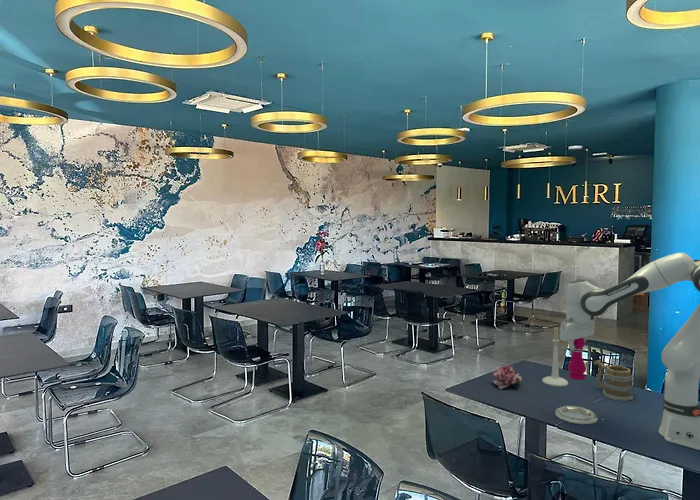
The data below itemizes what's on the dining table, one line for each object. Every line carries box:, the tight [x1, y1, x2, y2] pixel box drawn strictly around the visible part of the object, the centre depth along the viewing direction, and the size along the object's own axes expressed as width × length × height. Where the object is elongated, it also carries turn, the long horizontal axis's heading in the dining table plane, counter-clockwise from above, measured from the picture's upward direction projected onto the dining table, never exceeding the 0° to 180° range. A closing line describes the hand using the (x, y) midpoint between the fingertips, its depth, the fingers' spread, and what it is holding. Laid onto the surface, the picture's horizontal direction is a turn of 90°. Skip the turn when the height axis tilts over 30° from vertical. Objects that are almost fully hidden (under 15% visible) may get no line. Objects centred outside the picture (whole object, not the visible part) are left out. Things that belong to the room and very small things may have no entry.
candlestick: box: [541, 326, 569, 387], centre depth 259 cm, size 13×13×30 cm
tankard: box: [593, 359, 634, 402], centre depth 242 cm, size 20×13×15 cm, turn 22°
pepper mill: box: [567, 338, 587, 381], centre depth 214 cm, size 7×7×20 cm
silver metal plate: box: [554, 405, 599, 426], centre depth 215 cm, size 17×17×2 cm
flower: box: [492, 364, 523, 390], centre depth 254 cm, size 15×15×10 cm
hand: (577, 348), depth 214 cm, fingers closed on pepper mill, 5 cm apart
